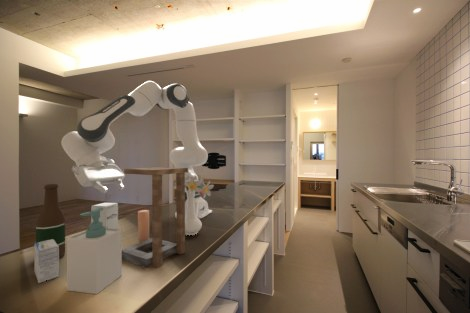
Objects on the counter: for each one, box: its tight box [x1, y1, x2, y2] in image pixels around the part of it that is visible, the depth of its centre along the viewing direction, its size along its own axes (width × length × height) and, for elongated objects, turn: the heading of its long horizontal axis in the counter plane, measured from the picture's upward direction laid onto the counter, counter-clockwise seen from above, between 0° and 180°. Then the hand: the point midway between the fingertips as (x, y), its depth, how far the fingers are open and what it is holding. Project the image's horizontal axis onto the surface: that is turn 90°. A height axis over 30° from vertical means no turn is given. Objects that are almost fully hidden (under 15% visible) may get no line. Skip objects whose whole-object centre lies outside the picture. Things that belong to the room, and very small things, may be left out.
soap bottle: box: [66, 208, 123, 295], centre depth 56 cm, size 9×9×19 cm
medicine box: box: [33, 239, 60, 284], centre depth 60 cm, size 8×4×9 cm, turn 48°
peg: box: [137, 209, 150, 244], centre depth 83 cm, size 4×4×12 cm
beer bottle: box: [35, 183, 66, 259], centre depth 71 cm, size 8×8×24 cm
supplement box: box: [90, 202, 119, 229], centre depth 94 cm, size 7×7×13 cm
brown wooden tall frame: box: [122, 166, 188, 269], centre depth 72 cm, size 14×16×29 cm
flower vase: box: [172, 176, 215, 237], centre depth 93 cm, size 13×18×25 cm
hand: (114, 190), depth 85 cm, fingers open, 8 cm apart
